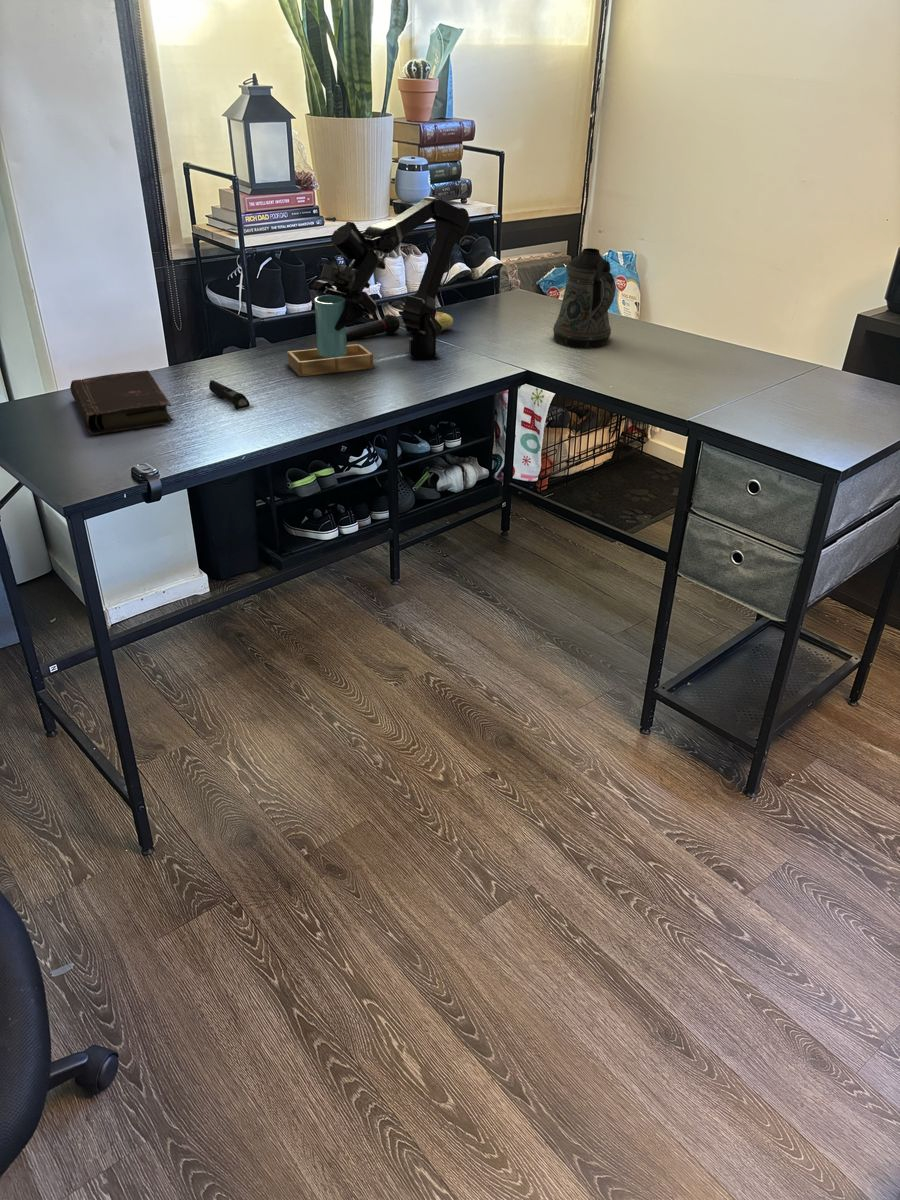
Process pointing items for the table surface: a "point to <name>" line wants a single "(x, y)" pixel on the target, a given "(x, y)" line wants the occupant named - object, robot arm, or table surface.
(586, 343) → the beer stein
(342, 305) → the tumbler
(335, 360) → the divided wooden tray
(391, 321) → the microphone
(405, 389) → the table surface
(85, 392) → the diary
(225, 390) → the electric trimmer
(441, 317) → the plant cell model
